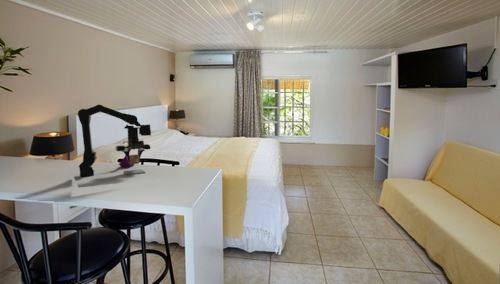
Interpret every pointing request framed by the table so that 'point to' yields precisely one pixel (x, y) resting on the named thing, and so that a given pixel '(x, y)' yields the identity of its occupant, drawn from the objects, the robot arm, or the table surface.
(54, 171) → the table surface
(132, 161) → the walnut cube
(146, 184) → the table surface
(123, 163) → the perfume bottle
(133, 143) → the robot arm
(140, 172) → the slate coaster
